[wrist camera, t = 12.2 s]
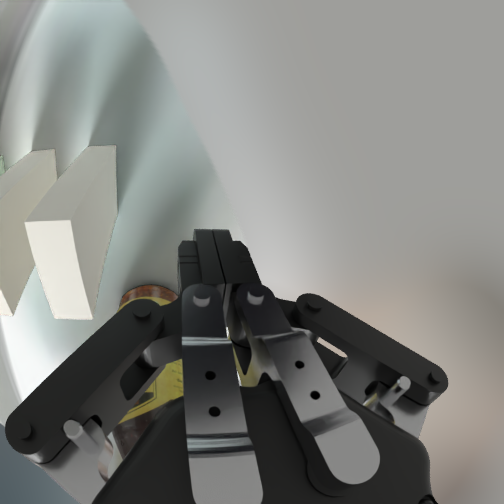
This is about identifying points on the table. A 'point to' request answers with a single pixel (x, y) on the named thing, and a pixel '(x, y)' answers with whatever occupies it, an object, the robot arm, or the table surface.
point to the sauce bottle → (160, 390)
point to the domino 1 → (1, 165)
